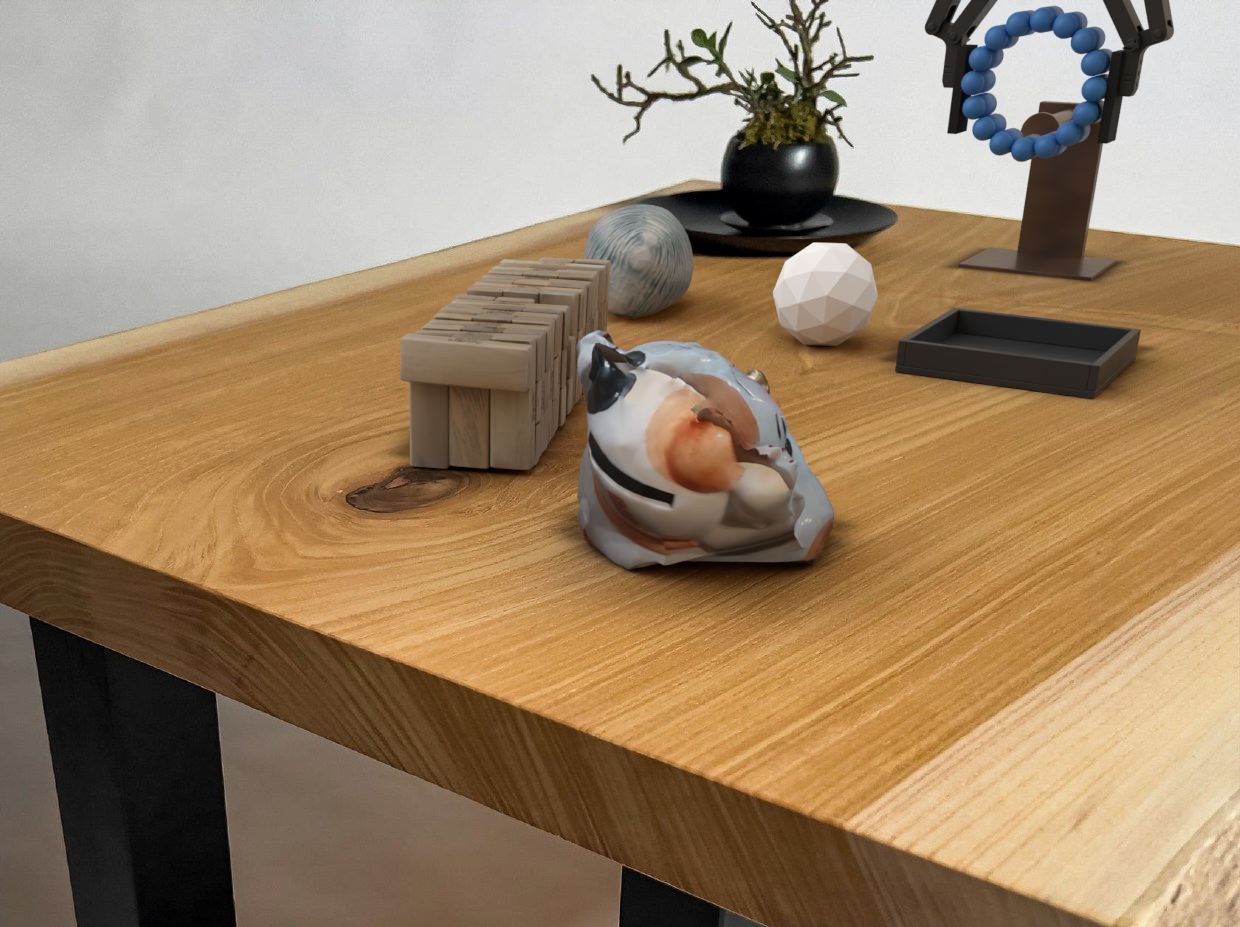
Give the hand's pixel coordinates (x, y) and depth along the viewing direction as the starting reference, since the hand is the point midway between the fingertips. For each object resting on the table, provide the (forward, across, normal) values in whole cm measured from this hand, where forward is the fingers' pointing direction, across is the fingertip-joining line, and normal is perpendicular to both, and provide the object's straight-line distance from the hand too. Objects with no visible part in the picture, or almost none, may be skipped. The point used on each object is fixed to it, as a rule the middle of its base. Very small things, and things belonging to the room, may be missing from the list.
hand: (1029, 137), depth 128 cm
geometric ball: (+14, -9, -18) cm, 25 cm away
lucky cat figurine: (+14, +4, -66) cm, 68 cm away
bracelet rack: (+14, -2, +19) cm, 24 cm away
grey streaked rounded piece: (+14, -27, -14) cm, 34 cm away
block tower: (+14, -18, -48) cm, 54 cm away
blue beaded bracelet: (-4, 0, 0) cm, 4 cm away
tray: (+14, +6, -17) cm, 23 cm away
